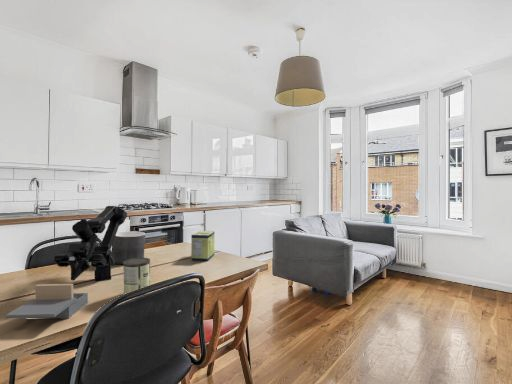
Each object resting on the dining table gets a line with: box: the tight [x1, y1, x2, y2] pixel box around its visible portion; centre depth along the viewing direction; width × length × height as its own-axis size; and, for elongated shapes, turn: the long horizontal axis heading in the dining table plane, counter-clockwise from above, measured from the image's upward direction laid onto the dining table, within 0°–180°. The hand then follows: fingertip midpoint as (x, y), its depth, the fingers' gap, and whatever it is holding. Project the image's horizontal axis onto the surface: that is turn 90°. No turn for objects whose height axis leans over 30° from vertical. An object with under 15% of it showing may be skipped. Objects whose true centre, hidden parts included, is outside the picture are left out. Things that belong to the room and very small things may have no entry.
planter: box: [111, 230, 146, 265], centre depth 164 cm, size 18×18×16 cm
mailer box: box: [41, 292, 89, 319], centre depth 100 cm, size 12×14×4 cm
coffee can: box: [122, 257, 151, 295], centre depth 115 cm, size 10×10×14 cm
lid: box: [4, 283, 77, 319], centre depth 92 cm, size 12×14×6 cm
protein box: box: [190, 230, 215, 262], centre depth 173 cm, size 10×16×16 cm
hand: (72, 280), depth 108 cm, fingers closed
